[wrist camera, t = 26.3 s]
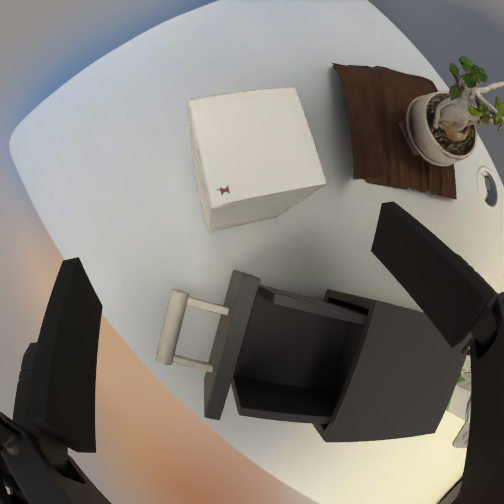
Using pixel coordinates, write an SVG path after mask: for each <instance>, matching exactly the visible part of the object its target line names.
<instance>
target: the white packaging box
mask: <svg viewBox="0 0 504 504" xmlns="http://www.w3.org/2000/svg"><path fill="white" fill-rule="evenodd" d="M188 121H189V129H190V137H191V146H192V154H193V164H194V171H195V177H196V182H197V188H198V192H199V197H200V201H201V205H202V210H203V214H204V217H205V221H206V225H207V229H208V231H209V232H210V231H214V230H218V229H223V228H227V227H232V226H237V225H242V224H246V223H251V222H255V221H260V220H264V219H269V218H273V217H277V216H279V215H280V214H282V213H283V212H285V211H286V210H288V209H289V208H291V207H292V206H294V205H295V204H297V203H298V202H300V201H301V200H303V199H304V198H306V197H307V196H309V195H310V194H312V193H313V192H315V191H316V190H318V189H319V188H321V187H322V186H324V185H325V184H326V179H325V176H324V173H323V169H322V166H321V162H320V159H319V156H318V152H317V149H316V146H315V143H314V140H313V137H312V134H311V131H310V128H309V125H308V122H307V119H306V116H305V113H304V110H303V107H302V105H301V102H300V99H299V96H298V94H297V91H296V88H295V87H289V88H274V89H262V90H252V91H244V92H236V93H227V94H219V95H212V96H205V97H199V98H192V99H189V100H188Z"/></svg>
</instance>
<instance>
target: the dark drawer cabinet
mask: <svg viewBox="0 0 504 504" xmlns="http://www.w3.org/2000/svg"><path fill="white" fill-rule="evenodd" d="M324 301H325V302H329V303H333V304H337V305H341V306H345V307H350V308H354V309H357V310H360V311H364V312H367V313H368V315H367V318H366V322H365V325H364V328H363V332H362V335H361V338H360V341H359V344H358V348H357V351H356V354H355V357H354V359H353V362H352V365H351V368H350V371H349V374H348V376H347V379H346V382H345V384H344V387H343V390H342V392H341V395H340V397H339V400H338V402H337V405H336V407H335V410H334V412H333V414H332V417H331V419H330V421H329V424H315V423H312V424H313V425H314V427H315V428H316V430H317V431H318V433H319V434H320V435H321V437H322V438H323V440H324V441H325V442H359V441H376V440H387V439H397V438H405V437H413V436H419V435H426V434H431V433H435V431H436V429H437V427H438V425H439V423H440V421H441V419H442V417H443V415H444V412H445V410H446V408H447V406H448V403H449V401H450V399H451V396H452V394H453V391H454V389H455V386H456V384H457V381H458V379H459V376H460V373H461V370H462V367H463V365H464V362H465V359H466V353H467V351H468V349H469V347H468V349H467V350H466V351H465V352H464V354H461V351H462V349H463V347H464V346H465V344H466V343H467V342H468V340H469V339H470V338H471V336H472V334H471V332H469V333H468V335H467V336H466V337H465V339H464V340H463V341H462V342H461V343H459V344H458V345H456V346H455V347H453V348H451V346H450V345H449V344H448V342H447V341H446V340H445V338H444V337H443V336H442V334H441V333H440V332H439V331H438V329H437V328H436V327H435V325H434V324H433V323H432V322H431V320H430V319H429V318H428V317H427V315H426V314H425V313H423V312H419V311H415V310H412V309H408V308H404V307H400V306H396V305H392V304H388V303H384V302H380V301H377V300H372V299H368V298H364V297H359V296H355V295H351V294H347V293H342V292H338V291H334V290H330V289H328V290H327V293H326V297H325V300H324Z"/></svg>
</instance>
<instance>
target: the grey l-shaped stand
mask: <svg viewBox="0 0 504 504" xmlns="http://www.w3.org/2000/svg"><path fill="white" fill-rule="evenodd" d="M469 426H470V423H469V422H467V421H466V423H465V425H464V426H463V428H462V430H461V431H460V433H459V435H458V436H457V438H456V440H455V441H454V444H453V446H454V447H456V448H467V446H468V437H469Z"/></svg>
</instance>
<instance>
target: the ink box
mask: <svg viewBox="0 0 504 504" xmlns="http://www.w3.org/2000/svg"><path fill="white" fill-rule="evenodd" d="M446 410H447V411H448V412H450V413H452V414H454V415H456V416H458V417H459V418H461V419H463V420H465V421H467V422H469V423H470V411H471V372H470V373H466V374H463V375H460V376H459V379H458V381H457V384H456V386H455V389H454V391H453V394H452V396H451V399H450V401H449V403H448V406H447V408H446Z"/></svg>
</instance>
